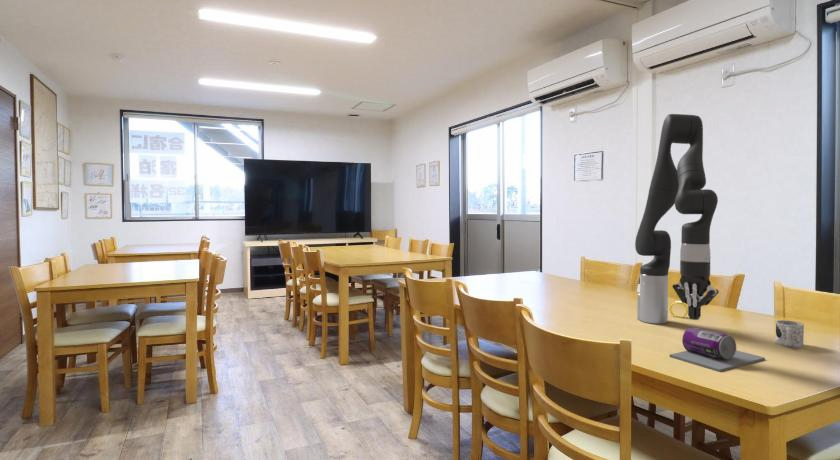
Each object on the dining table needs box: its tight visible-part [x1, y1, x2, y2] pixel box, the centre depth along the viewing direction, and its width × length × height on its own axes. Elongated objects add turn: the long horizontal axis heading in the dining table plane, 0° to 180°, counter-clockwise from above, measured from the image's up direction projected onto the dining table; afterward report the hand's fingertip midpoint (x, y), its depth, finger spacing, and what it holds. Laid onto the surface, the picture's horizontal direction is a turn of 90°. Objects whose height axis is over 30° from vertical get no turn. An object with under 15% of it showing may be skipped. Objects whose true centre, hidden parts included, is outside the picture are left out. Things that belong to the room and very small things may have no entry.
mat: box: [669, 349, 766, 373], centre depth 133 cm, size 14×20×1 cm
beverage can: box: [681, 326, 737, 359], centre depth 134 cm, size 7×7×12 cm
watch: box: [669, 300, 688, 319], centre depth 182 cm, size 6×3×6 cm, turn 53°
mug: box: [775, 319, 805, 349], centre depth 144 cm, size 10×7×7 cm
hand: (694, 319), depth 139 cm, fingers closed
